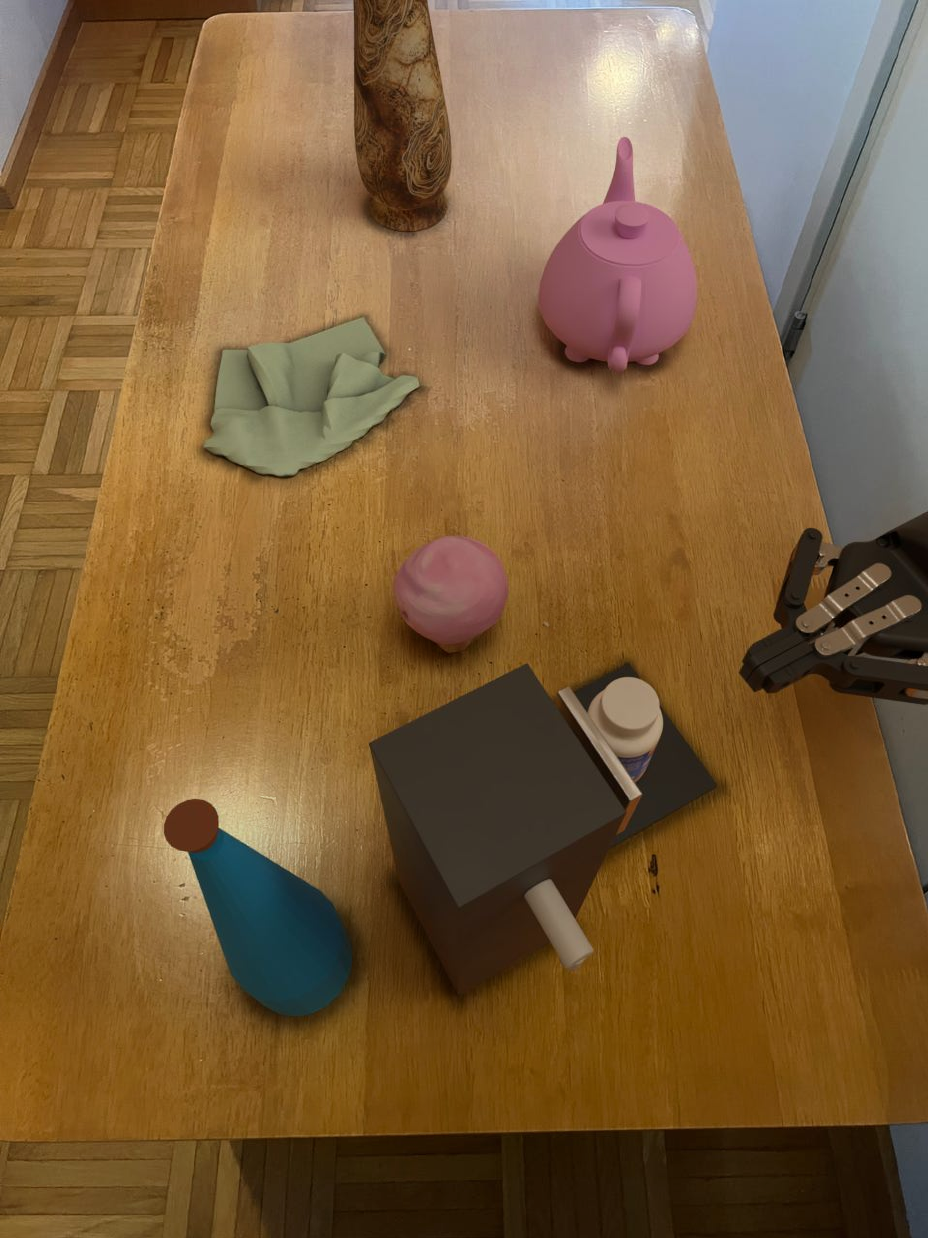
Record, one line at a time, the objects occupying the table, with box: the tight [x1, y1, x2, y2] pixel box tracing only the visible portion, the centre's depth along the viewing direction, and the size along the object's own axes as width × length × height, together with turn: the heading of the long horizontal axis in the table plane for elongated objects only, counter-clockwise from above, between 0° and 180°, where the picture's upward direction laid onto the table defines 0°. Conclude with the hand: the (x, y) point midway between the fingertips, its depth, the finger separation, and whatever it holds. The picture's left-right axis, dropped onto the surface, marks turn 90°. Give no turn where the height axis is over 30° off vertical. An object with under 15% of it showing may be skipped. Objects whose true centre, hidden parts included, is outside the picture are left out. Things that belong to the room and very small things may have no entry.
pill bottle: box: [588, 677, 663, 782], centre depth 68 cm, size 5×5×10 cm
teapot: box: [537, 136, 698, 373], centre depth 90 cm, size 22×16×14 cm
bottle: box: [163, 798, 354, 1018], centre depth 52 cm, size 7×7×30 cm
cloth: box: [203, 316, 420, 478], centre depth 90 cm, size 20×22×2 cm
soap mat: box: [553, 662, 718, 850], centre depth 72 cm, size 12×12×1 cm
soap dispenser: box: [368, 663, 627, 997], centre depth 54 cm, size 13×9×26 cm
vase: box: [352, 0, 453, 232], centre depth 93 cm, size 10×11×30 cm
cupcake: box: [392, 535, 509, 654], centre depth 74 cm, size 9×9×10 cm
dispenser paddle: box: [554, 685, 642, 835], centre depth 51 cm, size 7×1×6 cm, turn 29°
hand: (750, 676), depth 54 cm, fingers closed
